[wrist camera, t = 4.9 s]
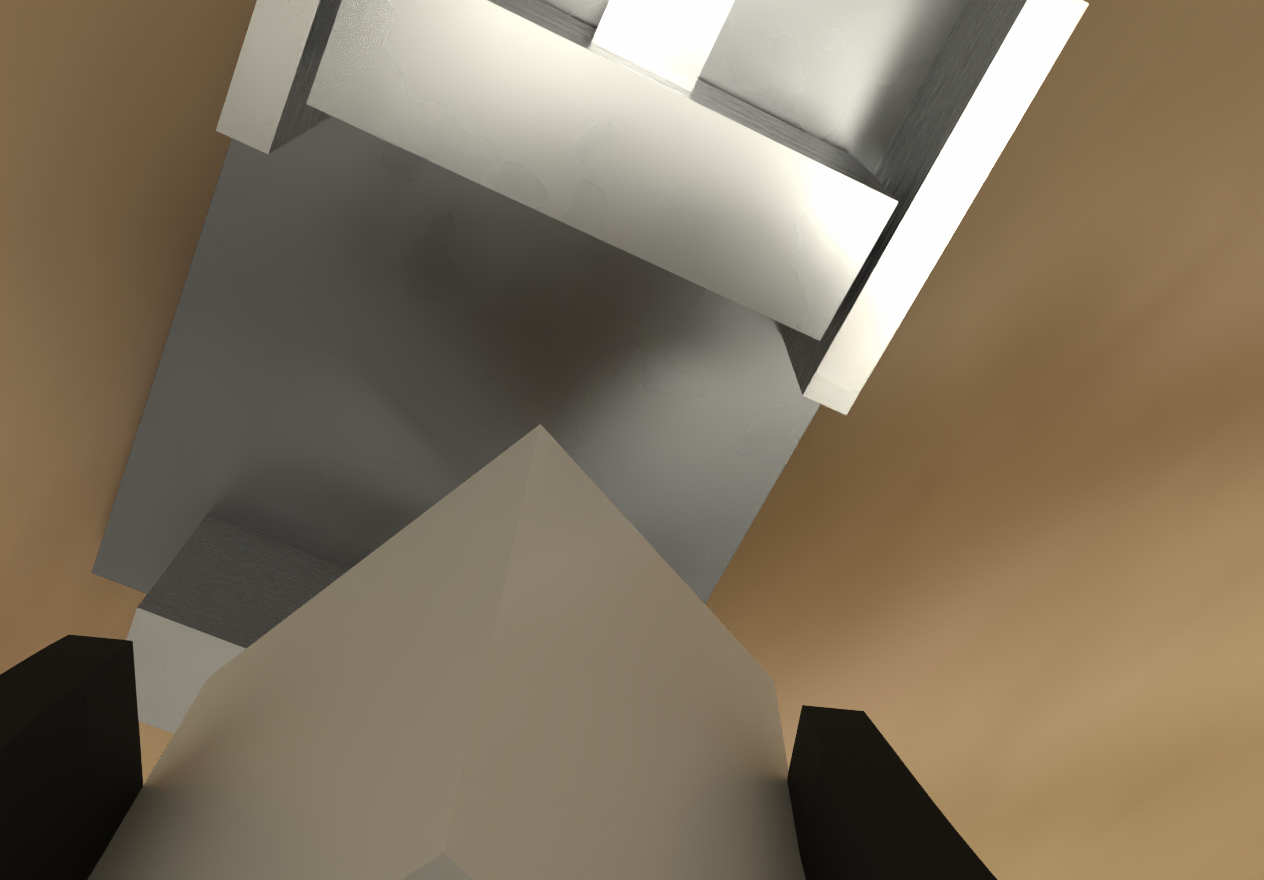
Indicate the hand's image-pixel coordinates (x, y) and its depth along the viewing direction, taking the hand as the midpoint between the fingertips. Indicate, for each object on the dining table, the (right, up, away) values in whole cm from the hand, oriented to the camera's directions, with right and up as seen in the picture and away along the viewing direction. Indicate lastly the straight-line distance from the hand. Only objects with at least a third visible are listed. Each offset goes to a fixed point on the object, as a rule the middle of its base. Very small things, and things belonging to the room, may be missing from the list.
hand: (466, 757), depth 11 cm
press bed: (0, +6, +8) cm, 10 cm away
